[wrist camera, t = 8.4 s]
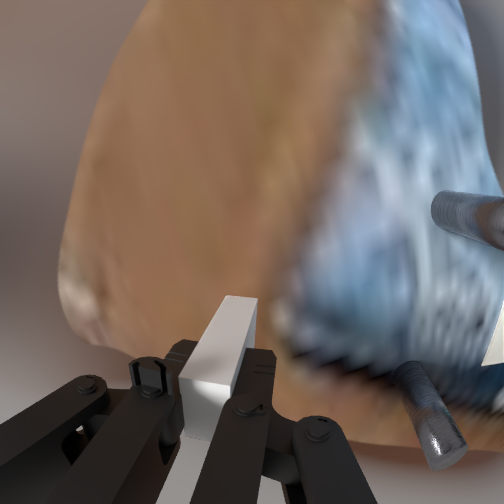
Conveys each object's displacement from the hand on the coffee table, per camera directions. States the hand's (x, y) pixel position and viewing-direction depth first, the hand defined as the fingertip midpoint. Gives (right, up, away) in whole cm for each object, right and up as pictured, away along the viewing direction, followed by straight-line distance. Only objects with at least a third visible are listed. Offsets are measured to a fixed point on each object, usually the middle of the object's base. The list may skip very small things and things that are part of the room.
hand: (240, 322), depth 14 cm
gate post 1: (+12, -6, +5) cm, 15 cm away
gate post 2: (+13, +6, +2) cm, 15 cm away
